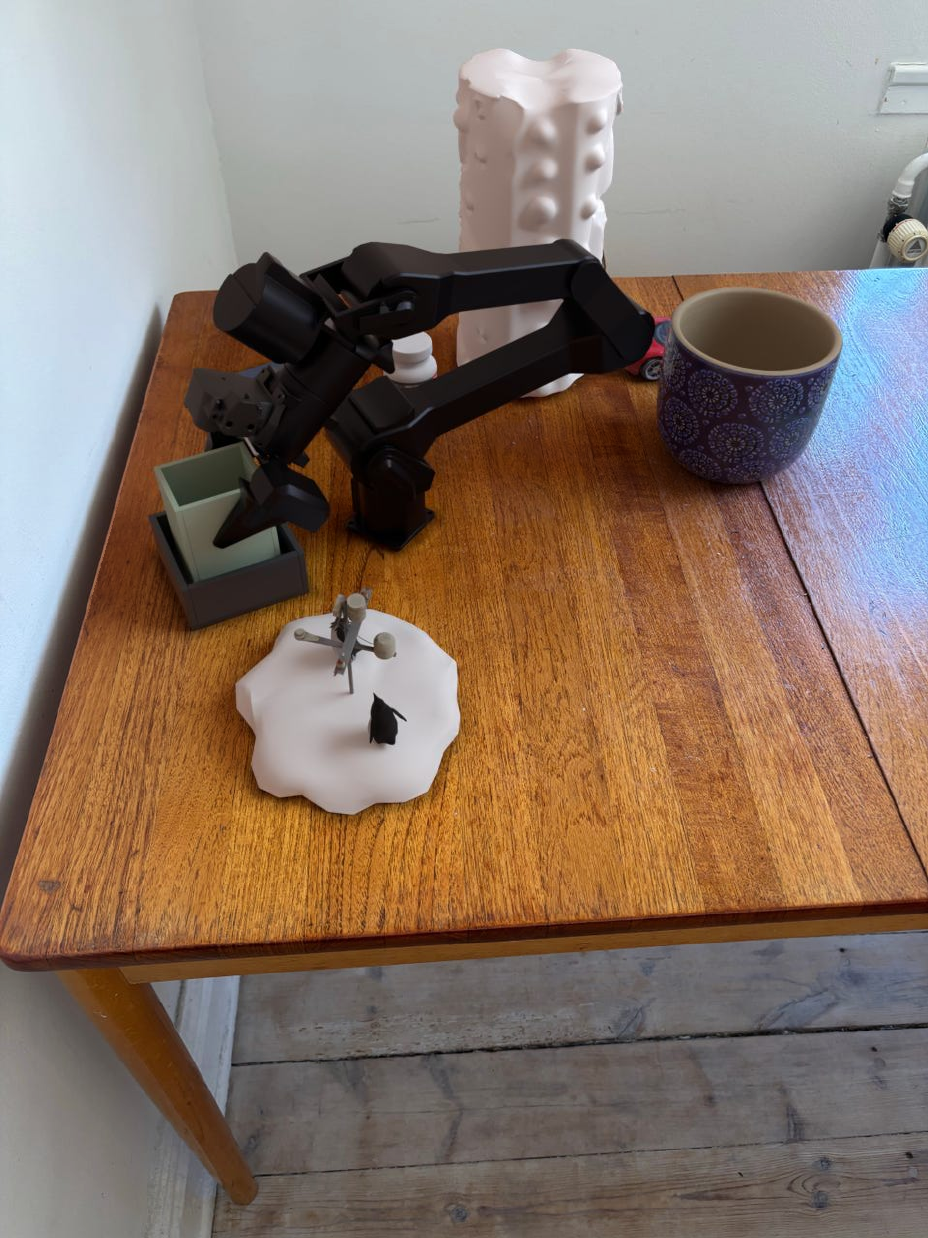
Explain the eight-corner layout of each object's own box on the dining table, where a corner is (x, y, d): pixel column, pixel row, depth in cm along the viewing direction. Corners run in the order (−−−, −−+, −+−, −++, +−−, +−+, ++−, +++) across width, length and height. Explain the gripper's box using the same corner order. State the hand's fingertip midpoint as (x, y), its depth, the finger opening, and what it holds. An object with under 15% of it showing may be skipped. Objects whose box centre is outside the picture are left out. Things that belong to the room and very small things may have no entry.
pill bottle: (445, 430, 110) (445, 349, 103) (395, 441, 108) (392, 360, 101) (427, 402, 113) (425, 322, 106) (379, 412, 112) (374, 332, 105)
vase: (456, 322, 125) (458, 37, 102) (587, 326, 125) (618, 41, 102) (449, 401, 114) (450, 99, 90) (594, 405, 113) (631, 104, 90)
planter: (664, 395, 115) (687, 273, 104) (812, 425, 111) (851, 302, 100) (631, 481, 104) (653, 354, 93) (794, 518, 100) (836, 390, 90)
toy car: (600, 340, 123) (604, 303, 119) (774, 337, 124) (784, 300, 120) (612, 384, 116) (617, 346, 113) (796, 380, 117) (807, 342, 114)
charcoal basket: (269, 521, 99) (262, 481, 95) (309, 592, 92) (304, 552, 89) (158, 555, 96) (147, 515, 92) (192, 631, 89) (181, 591, 85)
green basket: (261, 534, 97) (242, 440, 89) (284, 577, 93) (268, 483, 85) (179, 560, 94) (153, 466, 86) (200, 605, 90) (174, 511, 82)
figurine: (242, 619, 88) (213, 486, 75) (449, 610, 90) (456, 477, 77) (231, 829, 76) (193, 712, 63) (471, 813, 78) (482, 696, 65)
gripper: (200, 285, 84) (99, 428, 88) (277, 401, 73) (156, 559, 77) (299, 347, 92) (202, 475, 97) (381, 460, 81) (267, 600, 85)
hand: (205, 522), depth 89 cm, fingers closed on green basket, 6 cm apart
